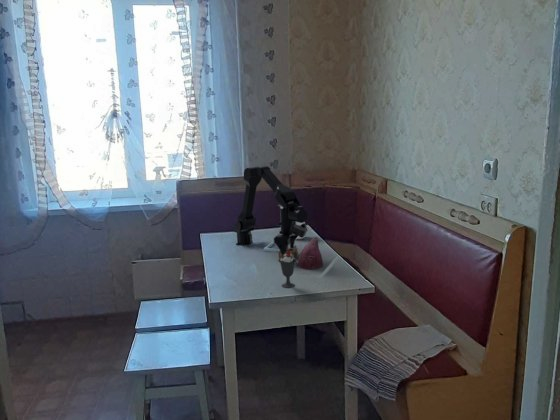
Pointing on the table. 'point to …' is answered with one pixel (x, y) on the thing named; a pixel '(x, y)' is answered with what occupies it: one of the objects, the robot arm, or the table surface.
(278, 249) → the tray
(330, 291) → the table surface
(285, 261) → the sundae
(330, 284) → the table surface
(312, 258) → the vegetable
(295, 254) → the ring
